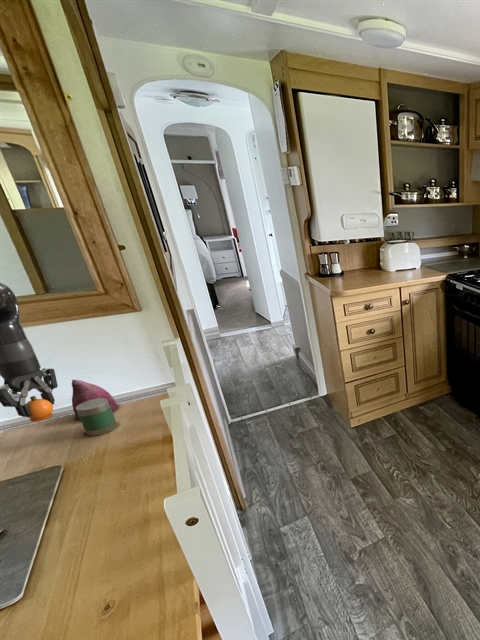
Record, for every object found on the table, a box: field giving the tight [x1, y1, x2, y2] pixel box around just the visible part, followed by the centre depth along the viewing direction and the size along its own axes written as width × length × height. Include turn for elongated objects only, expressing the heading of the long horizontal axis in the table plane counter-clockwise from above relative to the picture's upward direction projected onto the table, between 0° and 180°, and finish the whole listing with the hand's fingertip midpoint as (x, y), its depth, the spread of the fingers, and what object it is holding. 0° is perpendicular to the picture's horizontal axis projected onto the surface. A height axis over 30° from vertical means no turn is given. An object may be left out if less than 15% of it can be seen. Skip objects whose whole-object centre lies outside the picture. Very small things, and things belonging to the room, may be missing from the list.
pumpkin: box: [25, 395, 54, 423], centre depth 108 cm, size 6×6×7 cm
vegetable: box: [71, 379, 118, 421], centre depth 122 cm, size 10×10×15 cm
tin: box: [76, 398, 118, 437], centre depth 115 cm, size 7×7×9 cm
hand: (38, 410), depth 108 cm, fingers closed on pumpkin, 5 cm apart
